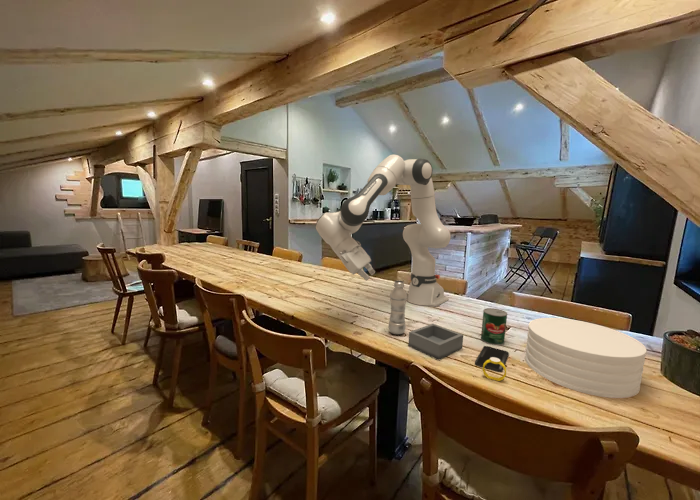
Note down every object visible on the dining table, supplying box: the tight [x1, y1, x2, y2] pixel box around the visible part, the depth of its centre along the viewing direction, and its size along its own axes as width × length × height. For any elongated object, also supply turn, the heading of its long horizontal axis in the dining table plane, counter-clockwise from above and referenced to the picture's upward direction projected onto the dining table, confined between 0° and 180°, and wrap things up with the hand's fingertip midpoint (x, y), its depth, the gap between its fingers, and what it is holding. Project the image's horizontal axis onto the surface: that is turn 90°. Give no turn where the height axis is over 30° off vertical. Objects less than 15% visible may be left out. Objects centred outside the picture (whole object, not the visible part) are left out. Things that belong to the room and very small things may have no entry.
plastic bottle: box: [388, 280, 408, 336], centre depth 117 cm, size 6×7×20 cm
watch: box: [482, 357, 507, 382], centre depth 88 cm, size 6×3×6 cm, turn 62°
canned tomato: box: [480, 307, 508, 346], centre depth 113 cm, size 8×8×11 cm
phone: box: [474, 345, 510, 373], centre depth 100 cm, size 8×1×15 cm
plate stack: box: [524, 317, 647, 399], centre depth 94 cm, size 28×28×12 cm
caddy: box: [407, 323, 464, 361], centre depth 107 cm, size 13×12×5 cm
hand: (371, 276), depth 118 cm, fingers open, 8 cm apart
